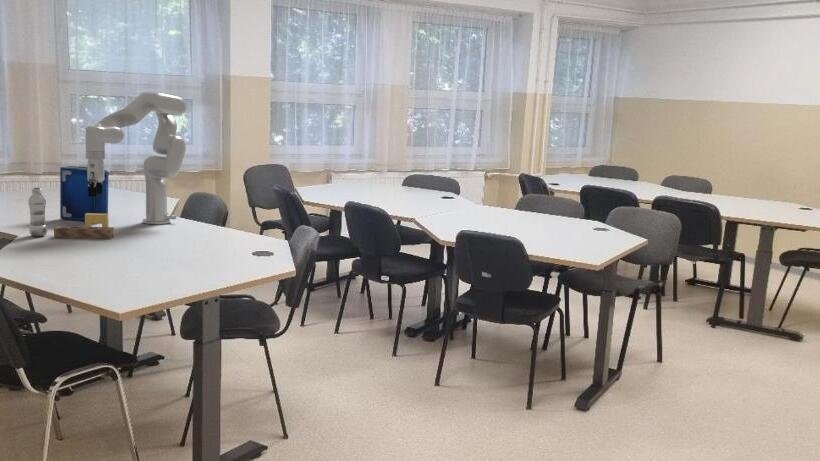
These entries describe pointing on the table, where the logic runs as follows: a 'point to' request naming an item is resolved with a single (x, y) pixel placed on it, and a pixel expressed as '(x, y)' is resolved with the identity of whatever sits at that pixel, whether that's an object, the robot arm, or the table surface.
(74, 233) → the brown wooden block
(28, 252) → the table surface
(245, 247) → the table surface
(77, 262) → the table surface
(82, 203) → the book
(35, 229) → the plastic bottle
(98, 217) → the yellow notched flat block
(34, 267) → the table surface
